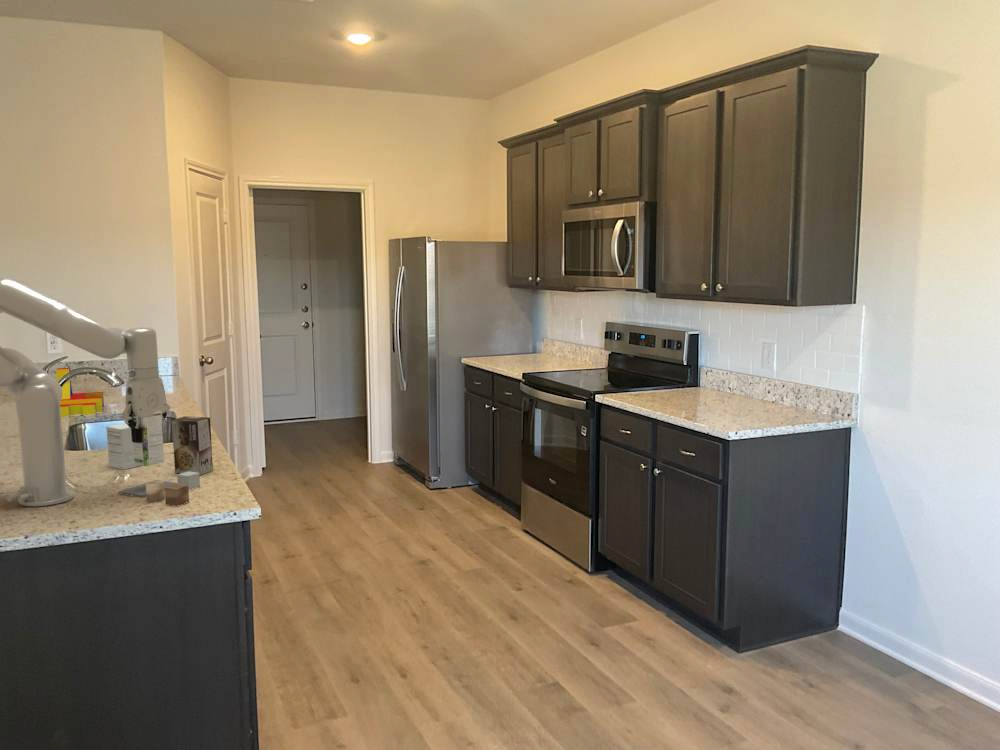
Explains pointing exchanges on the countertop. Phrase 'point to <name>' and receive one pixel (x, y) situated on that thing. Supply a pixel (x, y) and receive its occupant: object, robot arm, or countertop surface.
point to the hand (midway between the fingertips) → (147, 439)
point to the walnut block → (176, 494)
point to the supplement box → (120, 447)
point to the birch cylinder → (155, 491)
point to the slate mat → (142, 489)
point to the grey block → (189, 479)
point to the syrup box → (150, 441)
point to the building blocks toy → (78, 399)
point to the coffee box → (192, 444)
